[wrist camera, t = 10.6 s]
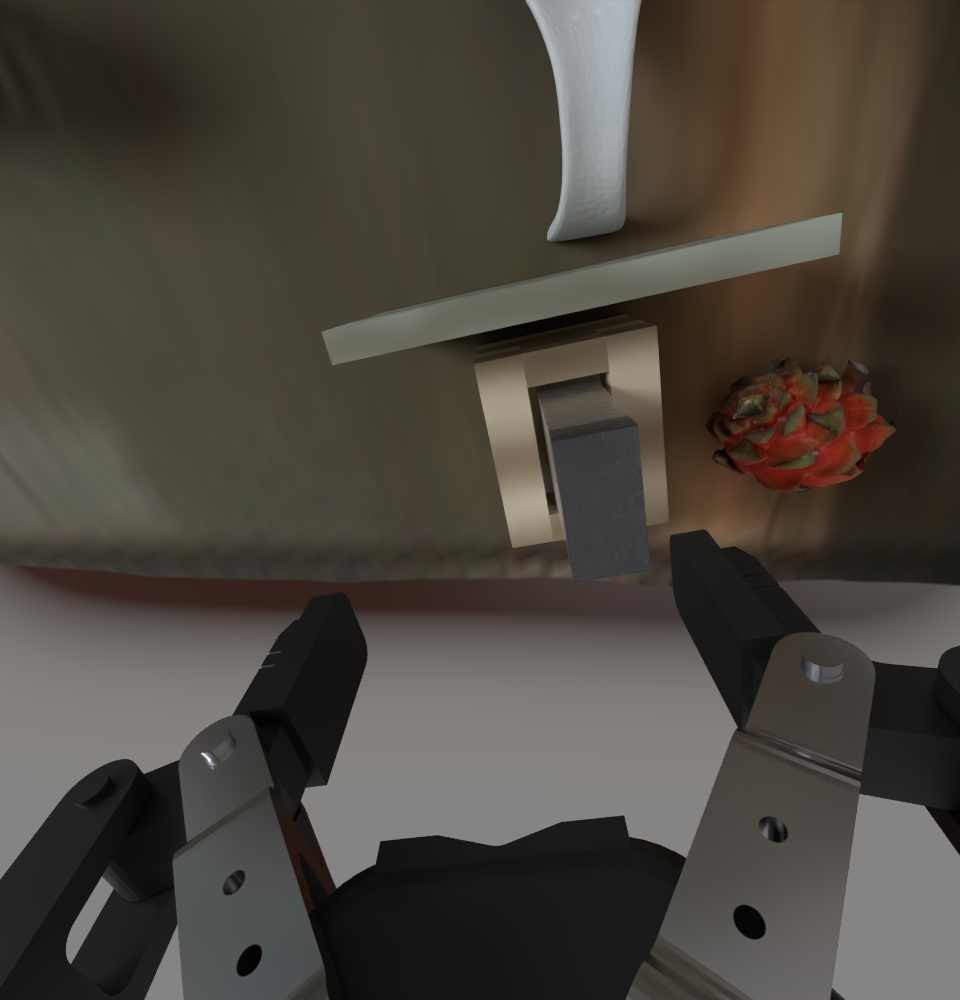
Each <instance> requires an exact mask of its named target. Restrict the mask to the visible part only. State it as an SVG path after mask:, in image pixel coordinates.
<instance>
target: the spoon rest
mask: <svg viewBox="0 0 960 1000" xmlns="http://www.w3.org/2000/svg"><path fill="white" fill-rule="evenodd" d="M525 1H526V3H527V4H528V6H529V8H530V10H531V12H532V14H533V15H534V17H535V20H536V22H537V24H538V27H539V29H540V31H541V34H542V36H543V39H544V41H545V44H546V47H547V50H548V53H549V56H550V59H551V63H552V68H553V72H554V78H555V83H556V90H557V98H558V106H559V116H560V127H561V140H562V159H563V168H562V188H561V197H560V203H559V208H558V212H557V215H556V217H555V219H554V221H553V222H552V224H551V226H550V228H549V230H548V233H547V240H548V241H551V242H556V241H565V240H571V239H578V238H583V237H589V236H595V235H600V234H606V233H611V232H615V231H618V230H619V229H621V228H622V226H623V225H624V222H625V217H626V166H627V145H628V129H629V114H630V101H631V87H632V73H633V59H634V50H635V41H636V32H637V24H638V17H639V11H640V6H641V1H642V0H525Z"/></svg>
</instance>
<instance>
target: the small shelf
mask: <svg viewBox="0 0 960 1000" xmlns="http://www.w3.org/2000/svg"><path fill="white" fill-rule="evenodd" d="M841 224H842V213H839V214H833V215H828V216H822V217H817V218H812V219H806V220H801V221H795V222H790V223H785V224H779V225H774V226H768V227H763V228H758V229H752V230H747V231H741V232H736V233H731V234H725V235H720V236H714V237H710V238H706V239H701V240H697V241H693V242H688V243H684V244H679V245H675V246H671V247H666V248H662V249H658V250H653V251H649V252H645V253H640V254H636V255H632V256H627V257H623V258H619V259H614V260H610V261H606V262H601V263H597V264H593V265H588V266H584V267H579V268H575V269H571V270H566V271H562V272H558V273H553V274H549V275H545V276H540V277H536V278H532V279H527V280H523V281H519V282H514V283H510V284H506V285H501V286H497V287H492V288H488V289H484V290H479V291H475V292H471V293H466V294H462V295H458V296H453V297H449V298H445V299H440V300H436V301H432V302H427V303H423V304H419V305H414V306H410V307H406V308H401V309H397V310H392V311H388V312H384V313H381V314H378V315H374V316H371V317H368V318H365V319H361V320H358V321H355V322H352V323H348V324H345V325H342V326H339V327H336V328H332V329H329V330H326V331H323V332H322V335H323V338H324V341H325V344H326V347H327V350H328V353H329V356H330V359H331V362H332V365H335V364H340V363H344V362H349V361H354V360H358V359H363V358H367V357H372V356H376V355H381V354H386V353H390V352H395V351H399V350H404V349H408V348H413V347H418V346H422V345H427V344H431V343H436V342H440V341H445V340H450V339H454V338H459V337H463V336H468V335H472V334H477V333H481V332H486V331H491V330H495V329H500V328H504V327H509V326H513V325H518V324H523V323H527V322H532V321H536V320H541V319H545V318H550V317H555V316H559V315H564V314H568V313H573V312H577V311H582V310H587V309H591V308H596V307H600V306H605V305H609V304H614V303H619V302H623V301H628V300H632V299H637V298H641V297H646V296H651V295H655V294H660V293H664V292H669V291H673V290H678V289H683V288H687V287H692V286H696V285H701V284H705V283H710V282H715V281H719V280H724V279H728V278H733V277H737V276H742V275H747V274H751V273H756V272H760V271H765V270H769V269H774V268H778V267H783V266H788V265H792V264H797V263H801V262H806V261H810V260H815V259H820V258H824V257H829V256H833V255H838V254H839V250H840V237H841ZM474 368H475V373H476V377H477V382H478V387H479V392H480V396H481V401H482V406H483V411H484V415H485V420H486V425H487V429H488V434H489V439H490V444H491V448H492V453H493V458H494V462H495V467H496V472H497V477H498V481H499V486H500V491H501V495H502V500H503V505H504V510H505V514H506V519H507V524H508V529H509V533H510V538H511V543H512V547H513V548H515V547H521V546H527V545H534V544H540V543H546V542H552V541H558V540H565V539H564V535H563V531H562V526H561V522H560V518H559V513H558V509H557V505H556V501H555V496H554V492H553V488H552V483H551V477H550V471H549V465H548V459H547V453H546V448H545V442H544V436H543V430H542V424H541V418H540V412H539V406H538V400H537V394H536V388H535V386H539V385H544V384H549V383H554V382H559V381H564V380H569V379H574V378H579V377H584V376H589V375H593V376H594V377H595V378H596V379H597V380H598V381H599V383H600V384H601V385H602V386H603V387H604V388H605V389H606V390H607V391H608V393H609V394H610V395H611V396H612V397H613V398H614V399H615V400H616V401H617V403H618V404H619V405H620V406H621V407H622V408H623V409H624V410H625V411H626V413H627V414H628V415H629V416H630V417H631V418H632V419H633V420H634V422H635V423H636V424H637V425H638V431H639V442H640V454H641V465H642V477H643V488H644V500H645V512H646V523H647V526H651V525H658V524H664V523H669V513H668V497H667V481H666V464H665V448H664V432H663V415H662V399H661V383H660V366H659V350H658V334H657V325H654V324H651V323H648V322H645V321H642V320H639V319H636V318H633V317H630V316H626V315H619V316H614V317H610V318H605V319H601V320H596V321H591V322H587V323H582V324H577V325H573V326H568V327H563V328H559V329H554V330H549V331H545V332H540V333H536V334H531V335H526V336H522V337H517V338H512V339H508V340H503V341H498V342H494V343H489V344H485V345H480V347H479V350H478V353H477V356H476V359H475V362H474Z"/></svg>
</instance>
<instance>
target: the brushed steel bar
mask: <svg viewBox="0 0 960 1000" xmlns="http://www.w3.org/2000/svg"><path fill="white" fill-rule="evenodd" d="M535 388H536V394H537V400H538V406H539V412H540V418H541V424H542V430H543V436H544V442H545V448H546V453H547V459H548V465H549V471H550V477H551V483H552V488H553V492H554V496H555V501H556V505H557V509H558V513H559V518H560V522H561V526H562V531H563V535H564V539H565V544H566V548H567V552H568V557H569V561H570V565H571V570H572V574H573V578H574V582H579V581H586V580H592V579H599V578H605V577H612V576H618V575H625V574H631V573H638V572H644V571H651V569H650V558H649V546H648V535H647V523H646V512H645V500H644V488H643V477H642V465H641V454H640V442H639V431H638V425H637V424H636V423H635V422H634V420H633V419H632V418H631V417H630V416H629V415H628V414H627V413H626V411H625V410H624V409H623V408H622V407H621V406H620V405H619V404H618V403H617V401H616V400H615V399H614V398H613V397H612V396H611V395H610V394H609V393H608V391H607V390H606V389H605V388H604V387H603V386H602V385H601V384H600V383H599V381H598V380H597V379H596V378H595V377H594V376H593V375H589V376H584V377H579V378H574V379H569V380H564V381H559V382H554V383H549V384H544V385H539V386H535Z"/></svg>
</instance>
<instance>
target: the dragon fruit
mask: <svg viewBox="0 0 960 1000" xmlns="http://www.w3.org/2000/svg"><path fill="white" fill-rule="evenodd" d="M772 364H773V365H774V369H773V371H772V373H767V374H764V375H762V376H760V377H742V378H740V379H738V380H737V381H735V382H734V383H732V385H731V394H729V395H727V396H726V397H725V398H724V400H723V401H722V404H721V408H720V412H715V413H712V415H711V416H710V417H709V420H708V422H707V424H706V427H707V429H708V430H709V431H710V432H711V434H712V435H713V437H714V438H715V439H716V440H717V441H718V442H721V443H723V444H724V445H725V448H724V449H723V450H716V451H715V452H714V455H713V457H712V459H713V460H714V461H715V462H717V463H718V464H721V465H722V466H724V467H726V468H728V469H730V470H732V471H733V472H735V473H738V474H741V475H746V474H752V475H754V476H755V478H756V480H757V481H758V482H759V483H760V484H762V485H763V486H764V487H766V488H768V489H770V490H772V491H775V492H782V493H787V492H796V493H800V492H805V491H808V490H810V489H811V488H808V486H816V487H826V486H829V485H832V484H837V483H841V482H844V481H848V480H851V479H853V478H855V477H856V476H858V475H859V474H861V473H862V472H864V471H865V468H864V463H865V461H866V460H867V459H868V458H869V457H870V455H871V453H872V452H873V451H874V450H875V449H877V448H879V447H880V446H881V445H882V444H883V442H884V440H885V439H886V438H887V439H888V437H889V436H890V435H891V434H892V433H894V432H895V430H896V427H895V425H894V422H893V421H892V422H891V423H890V424H888V423H887V422H886V420H885V419H884V418H883V417H882V416H880V415H879V414H878V413H877V399H875V398H874V397H873V396H871V390H872V386H873V382H867V383H865V385H864V387H863V394H862V393H853V392H854V390H855V389H856V387H857V385H858V383H859V373H862V374H866V375H868V374H869V371H868V369H867V368H866V367H865V366H863V365H862V364H861V363H859V362H856V361H854V360H851V359H848V364H847V366H846V368H845V370H844V372H843V375H842V377H841V378H840V376H839V375H838V373H837V372H835V370H834V369H833V367H831V366H829V365H824V366H821V367H819V368H817V369H816V370H815V371H814V372H809V373H805V374H803V373H802V371H801V369H800V368H799V367H798V365H796V364H795V363H794V361H793V360H792V359H791V358H789V357H786V358H782V359H777V360H775V361H773V362H772ZM896 410H897V409H896ZM898 410H899V409H898ZM897 415H898V413H897Z"/></svg>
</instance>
